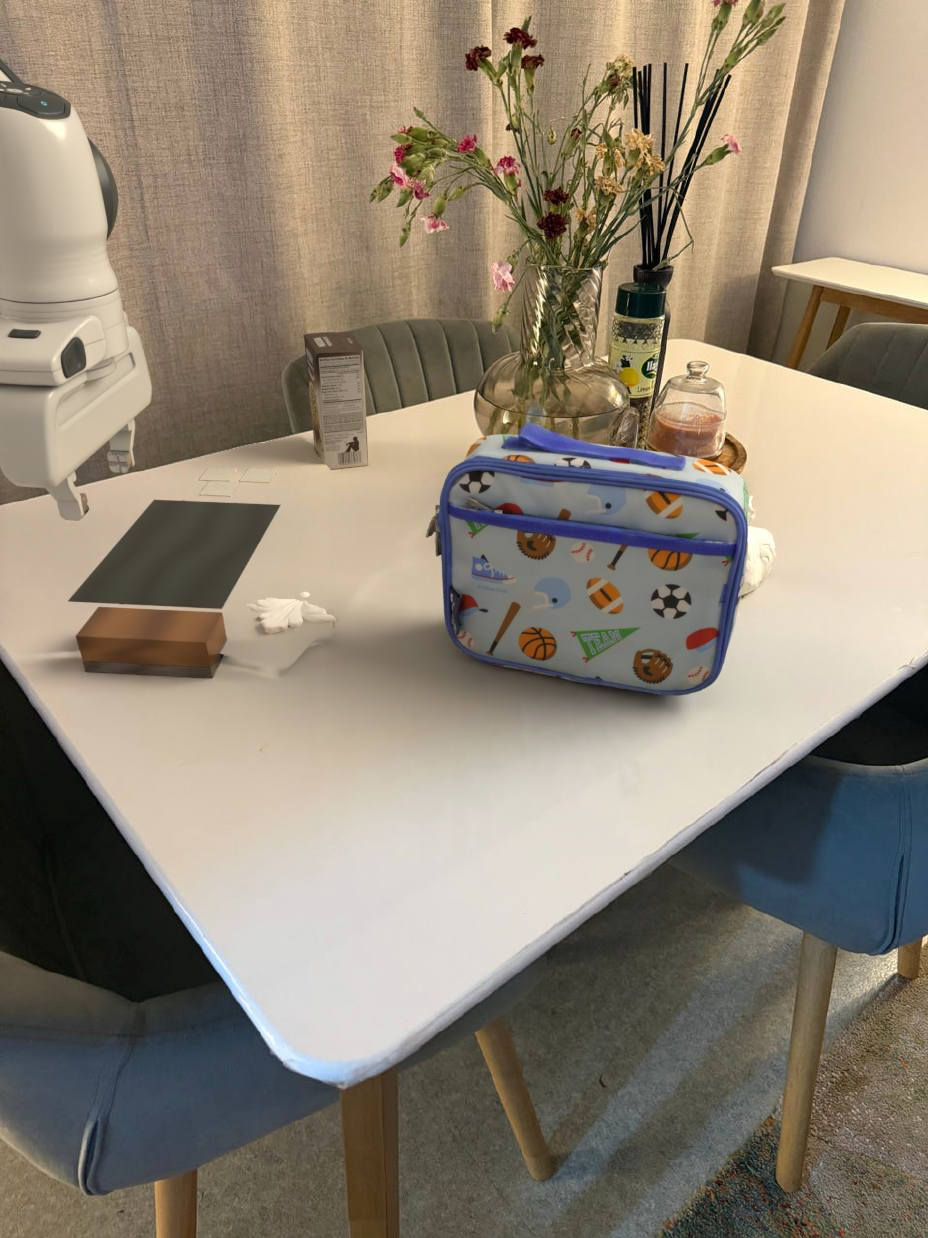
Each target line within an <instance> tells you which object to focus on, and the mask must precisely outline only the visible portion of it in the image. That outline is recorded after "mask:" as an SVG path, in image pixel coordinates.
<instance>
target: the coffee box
mask: <svg viewBox="0 0 928 1238" xmlns="http://www.w3.org/2000/svg"><path fill="white" fill-rule="evenodd" d="M303 341H304V342H303V343H304V351H305V362H306V363H305V364H306V372H307V382H308V391H309V402H310V413H311V424H312V434H313V444H314V448H315V451H316V453H317V455H318V457H319V458H320V459H321V461H322V463H323V465H324V466H325V465H326V467H328V469H330V470H337V469H346V468H348V469H349V468H355V467H356V468H357V467H364V466H365V467H366V466H368V465H369V452H368V451H369V449H368V448H369V447H368V431H367V429H368V428H367V409H366V407H367V406H366V385H365V369H364V368H365V367H364V352H363V348H361V345H360V344H359V343H358V341H356V339H355V338H354V336H353V335H352V334H351V333H350V331H338V332H337V331H336V332H334V331H325V332H310V333H304V334H303Z"/></svg>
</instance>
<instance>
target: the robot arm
mask: <svg viewBox="0 0 928 1238" xmlns="http://www.w3.org/2000/svg"><path fill="white" fill-rule="evenodd" d="M81 120H82V119H81V118H80V116H79V114H78V113H77V110H76V109H75V107H74V105H73V104H72V103H71V101H68V100H67V99H66V98H64V97H63V96H62V95H60V94H59V93H56V92H55V91H53V90H50V89H48V88H44V87H41V86H38V85H34V84H30V83H25V82H24V81H22V79H20V78H19V76H18V75H17V74H16V73H15V72H14V71H13V70H12V69H11V67H9V66H8V64H6V63H5V61H4V60H2V58H0V469H1V472H2V473H3V475H4V477H5V478H6V479H7V480H9V481H10V482H11V483H12V484H13V485H15V486H17V487H23V488H31V489H32V488H34V489H45V490H46V491H47V492H48V494H49V495H50V496H51V497H52V498H53V499H54V500H55V501H56V504H57V505H56V506H57V508H58V512H59V516H60V517H61V519H63V520H65V521H76V522H78V521H80V520H82V519H83V518H84V517H85V516H86V514H88V512H89V511H90V506H89V505H88V497H87V493H83V492H79V491H78V489H77V487H76V485H75V482H76V481H77V475H76V470H77V469H78V468H79V467H81V466H82V465H83V464H84V463H85V462H87V461H88V459H89V458H91V457H92V456H93V455H94V454H95V453H96V452H97V451H99V450H100V449H101V448H102V447H103V446H104V445H105V444H106V443H107V442H109V451H108V452H107V453H106V459H107V462H108V468H109V470H110V471H111V472H112V473H114V474H119V473H120V474H127V473H128V472H129V471H131V470H132V469H133V468H134V466H135V464H136V463H135V462H136V461H135V456H134V455H135V454H134V451H133V449H134V442H135V432H136V422H135V418H136V417H137V416H138V415H139V414H140V413H141V412H142V411H143V410H145V409H146V408H147V407H148V406H149V405H150V404H151V401H152V395H153V385H152V380H151V375H150V371H149V367H148V362H147V358H146V355H145V350H144V347H143V343H142V339H141V337H140V335H139V333H138V331H137V329H136V328H135V327H133V326H131V325H130V322H129V318H128V314H127V312H126V311H124V309H123V302H122V298H121V292H120V287H119V281H118V278H117V275H116V274H115V271H114V270H113V268H112V265H111V262H110V258H109V255H108V250H107V249H108V247H107V241H108V240H109V238H110V236H111V234H112V233H113V230H114V228H115V225H116V222H117V217H118V210H119V192H118V185H117V182H116V178H115V176H114V173H113V171H112V168H111V167H110V165H109V163H108V161H107V160H106V158H105V156H104V155H103V153H102V152H101V150H100V149H99V147H97V146H96V144H95V142H93V141H92V139H90V138H89V136H88V135H87V133H86V130H85V128H84V125H83V123H82V121H81Z"/></svg>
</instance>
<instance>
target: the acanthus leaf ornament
mask: <svg viewBox="0 0 928 1238" xmlns="http://www.w3.org/2000/svg"><path fill="white" fill-rule="evenodd" d="M309 596H310V592H308V591H302V592H300V593H299V597H301V598H308V597H309ZM246 607H247V608H249V610H252V611H254V612H258V613H259V615H258V618H259V620H260V625H261V626H262V627H263V629H264V631H265V633H267V634H269V635H273V634H276V633H280V632H284V631H286V630H287V629H288V628H289V627H290V628H293V629H296V628H299V627H300V626H301V625H302V624H303V622H304V620H306V621H308V622H309V623H310V622H311V623H314V624H324V623H331V622H332V628H336V623H337V619H336V617H335V616H334V615H332V614H330V613H327V610H326V609H325V608H322V607H320V606H317V605H314V604H310V603H309V602H308V601H307V600H299V599H297V598H276V597H265V598H264V599H257V600H256V601H255V603H247V604H246Z"/></svg>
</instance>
